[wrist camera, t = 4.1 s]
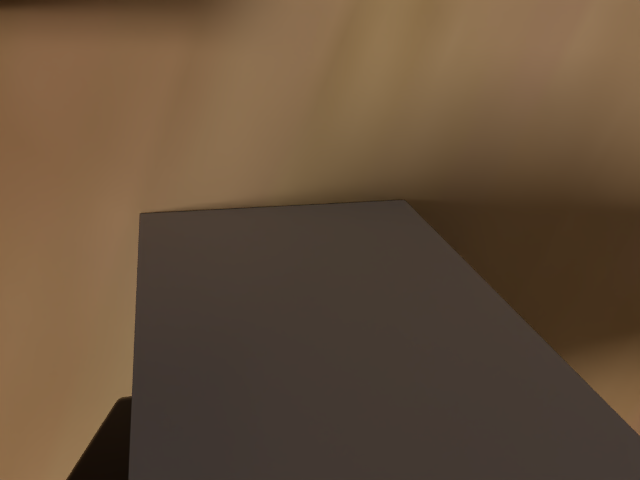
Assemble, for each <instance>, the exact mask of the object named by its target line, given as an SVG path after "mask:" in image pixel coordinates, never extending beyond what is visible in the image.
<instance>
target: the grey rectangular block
mask: <svg viewBox="0 0 640 480" xmlns="http://www.w3.org/2000/svg"><path fill="white" fill-rule="evenodd" d="M128 480H640V436H639V435H638V434H637V433H636V432H635V431H634V430H633V429H632V428H631V427H630V426H629V425H628V424H627V423H626V422H625V421H624V420H623V419H622V418H621V417H620V416H619V415H618V414H617V413H616V412H615V411H614V410H613V409H612V408H611V407H610V406H609V405H608V404H607V403H606V402H605V401H604V400H603V399H602V398H601V397H600V396H599V395H598V394H597V393H596V392H595V391H594V390H593V389H592V388H591V387H590V386H589V385H588V384H587V383H586V382H585V381H584V380H583V379H582V378H581V377H580V376H579V375H578V374H577V373H576V372H575V371H574V370H573V369H572V368H571V367H570V366H569V365H568V364H567V363H566V362H565V361H564V360H563V359H562V358H561V357H560V356H559V355H558V354H557V353H556V352H555V350H554V349H553V348H552V347H551V346H550V345H549V344H548V343H547V342H546V341H545V340H544V339H543V338H542V337H541V336H540V335H539V334H538V333H537V332H536V331H535V330H534V329H533V328H532V327H531V326H530V325H529V324H528V323H527V322H526V321H525V320H524V319H523V318H522V317H521V316H520V315H519V314H518V313H517V312H516V311H515V310H514V309H513V308H512V307H511V306H510V305H509V304H508V303H507V302H506V301H505V300H504V299H503V298H502V297H501V296H500V295H499V294H498V293H497V292H496V291H495V290H494V289H493V288H492V287H491V286H490V285H489V284H488V283H487V282H486V281H485V280H484V279H483V278H482V277H481V276H480V275H479V274H478V273H477V272H476V271H475V270H474V269H473V268H472V267H471V266H470V265H469V264H468V263H467V262H466V261H465V260H464V259H463V258H462V257H461V256H460V255H459V254H458V253H457V252H456V251H455V250H454V249H453V248H452V247H451V246H450V245H449V244H448V243H447V242H446V241H445V240H444V239H443V238H442V237H441V236H440V235H439V234H438V233H437V232H436V231H435V230H434V229H433V228H432V227H431V226H430V225H429V224H428V223H427V222H426V221H425V220H424V219H423V218H422V217H421V216H420V215H419V214H418V213H417V212H416V211H415V210H414V209H413V208H412V207H411V206H410V205H409V204H408V203H407V202H406V201H405V200H393V201H374V202H355V203H335V204H316V205H297V206H278V207H258V208H239V209H220V210H200V211H181V212H162V213H143V214H140V221H139V244H138V268H137V291H136V314H135V338H134V361H133V385H132V408H131V431H130V455H129V478H128Z"/></svg>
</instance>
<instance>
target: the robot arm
mask: <svg viewBox="0 0 640 480" xmlns="http://www.w3.org/2000/svg"><path fill="white" fill-rule="evenodd" d="M131 408H132V396H129V397H122V398H120V399H119V400H117V402H116V403H115V405H114V406H113V408H112V409H111V411H110V412H109V414H108V415H107V417H106V419H105V420H104V422H103V423H102V425H101V426H100V428H99V429H98V431H97V433H96V434H95V436H94V437H93V439H92V440H91V442H90V444H89V445H88V447H87V448H86V450H85V451H84V453H83V454H82V456H81V458H80V459H79V461H78V462H77V464H76V465H75V467H74V468H73V470H72V472H71V473H70V475H69V476H68V478H67V479H66V480H128V478H129V455H130V431H131Z"/></svg>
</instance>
